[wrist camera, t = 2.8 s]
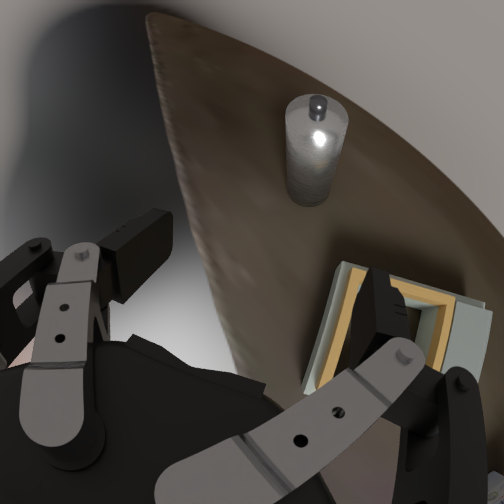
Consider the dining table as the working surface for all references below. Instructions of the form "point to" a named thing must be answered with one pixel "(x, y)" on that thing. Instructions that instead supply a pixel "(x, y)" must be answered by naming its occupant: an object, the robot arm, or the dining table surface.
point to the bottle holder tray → (428, 334)
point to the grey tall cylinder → (313, 147)
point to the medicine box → (495, 488)
